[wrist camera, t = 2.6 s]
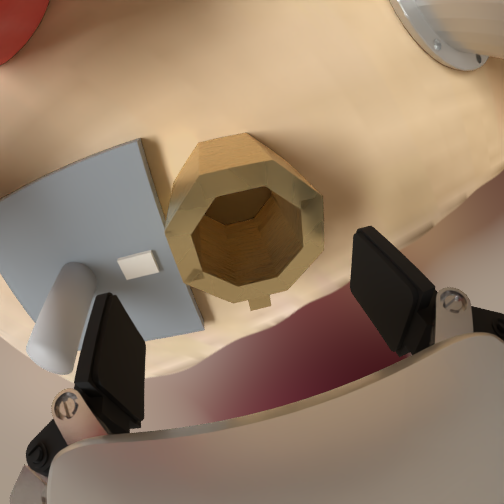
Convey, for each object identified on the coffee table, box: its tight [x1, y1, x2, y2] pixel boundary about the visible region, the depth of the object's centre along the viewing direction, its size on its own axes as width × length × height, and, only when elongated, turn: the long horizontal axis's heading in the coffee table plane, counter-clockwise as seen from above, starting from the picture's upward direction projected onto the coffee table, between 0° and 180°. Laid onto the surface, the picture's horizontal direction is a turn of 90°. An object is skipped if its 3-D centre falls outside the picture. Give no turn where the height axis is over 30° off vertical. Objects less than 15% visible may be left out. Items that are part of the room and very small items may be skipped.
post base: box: [0, 138, 205, 375], centre depth 14 cm, size 15×15×8 cm
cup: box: [164, 133, 324, 311], centre depth 15 cm, size 9×7×6 cm
